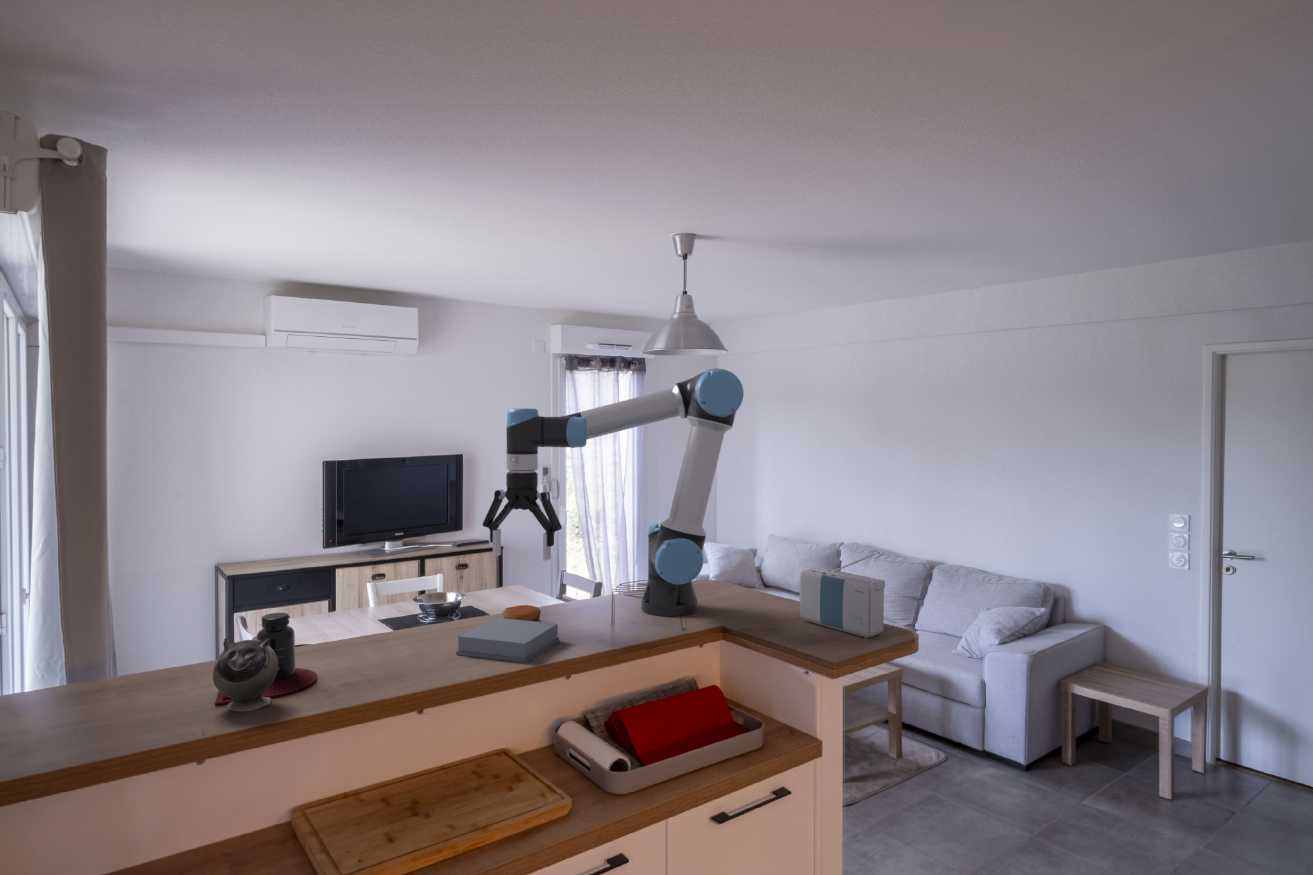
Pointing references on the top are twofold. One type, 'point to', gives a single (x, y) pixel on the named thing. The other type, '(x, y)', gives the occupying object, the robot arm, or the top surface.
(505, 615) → the burger
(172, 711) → the top surface
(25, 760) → the top surface
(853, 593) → the stereo radio cassette player
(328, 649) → the top surface
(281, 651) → the supplement bottle
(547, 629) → the stacking base
